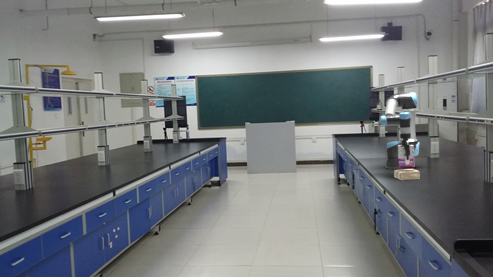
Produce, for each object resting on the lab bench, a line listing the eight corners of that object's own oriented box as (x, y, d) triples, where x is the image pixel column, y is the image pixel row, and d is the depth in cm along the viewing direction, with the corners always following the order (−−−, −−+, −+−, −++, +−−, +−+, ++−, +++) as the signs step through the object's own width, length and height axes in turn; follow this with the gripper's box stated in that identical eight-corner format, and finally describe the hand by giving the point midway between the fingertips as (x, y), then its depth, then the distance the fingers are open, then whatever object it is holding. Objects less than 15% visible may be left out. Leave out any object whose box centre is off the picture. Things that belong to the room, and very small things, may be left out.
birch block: (394, 177, 322) (393, 169, 321) (412, 176, 322) (411, 168, 321) (401, 180, 308) (401, 172, 307) (420, 179, 308) (419, 171, 307)
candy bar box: (414, 166, 314) (414, 144, 312) (414, 167, 309) (413, 145, 308) (399, 166, 319) (398, 144, 317) (398, 167, 314) (397, 145, 313)
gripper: (397, 132, 322) (398, 162, 324) (403, 134, 303) (404, 165, 305) (407, 132, 321) (408, 161, 323) (413, 133, 302) (414, 165, 304)
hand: (406, 163), depth 314 cm, fingers closed on candy bar box, 6 cm apart
